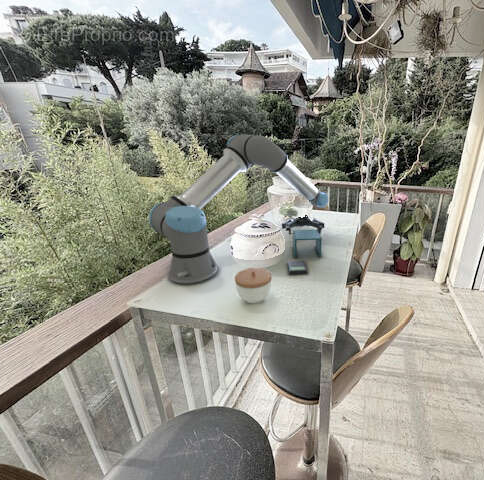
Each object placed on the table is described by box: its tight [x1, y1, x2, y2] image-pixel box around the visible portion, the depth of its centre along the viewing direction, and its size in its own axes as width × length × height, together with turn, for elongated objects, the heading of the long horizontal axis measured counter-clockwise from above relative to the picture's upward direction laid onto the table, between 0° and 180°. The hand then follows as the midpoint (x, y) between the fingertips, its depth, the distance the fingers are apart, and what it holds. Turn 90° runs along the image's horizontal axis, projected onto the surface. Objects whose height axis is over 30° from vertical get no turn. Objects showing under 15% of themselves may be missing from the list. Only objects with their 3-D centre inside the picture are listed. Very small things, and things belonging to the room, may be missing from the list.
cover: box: [292, 229, 323, 259], centre depth 115 cm, size 11×11×8 cm
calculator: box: [287, 260, 308, 275], centre depth 101 cm, size 8×6×2 cm
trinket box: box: [234, 267, 273, 304], centre depth 80 cm, size 11×11×9 cm
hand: (305, 231), depth 119 cm, fingers open, 13 cm apart
